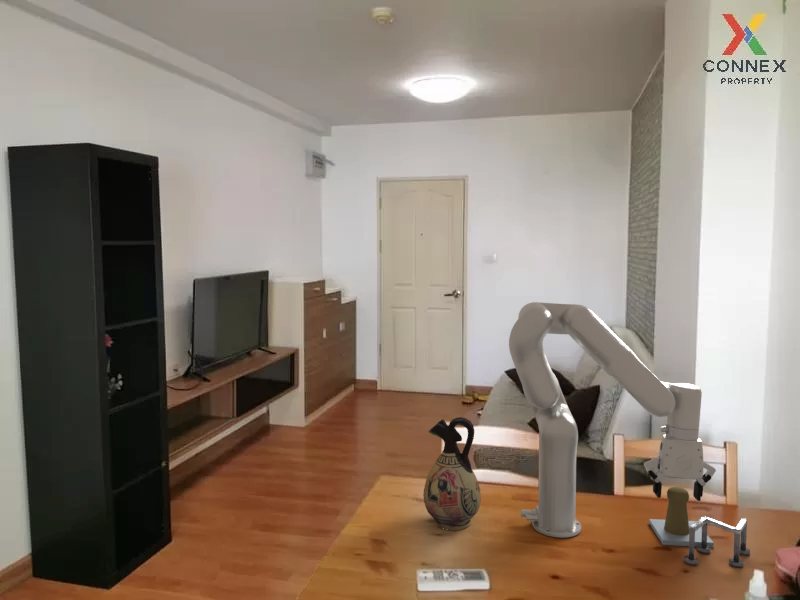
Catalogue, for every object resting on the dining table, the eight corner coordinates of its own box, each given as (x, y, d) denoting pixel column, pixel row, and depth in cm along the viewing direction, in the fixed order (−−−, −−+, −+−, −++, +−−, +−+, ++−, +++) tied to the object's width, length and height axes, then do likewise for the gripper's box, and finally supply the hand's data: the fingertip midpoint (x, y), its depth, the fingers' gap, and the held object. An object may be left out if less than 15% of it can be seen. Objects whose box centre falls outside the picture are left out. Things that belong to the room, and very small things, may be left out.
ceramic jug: (415, 531, 159) (414, 420, 156) (434, 508, 173) (433, 405, 170) (478, 542, 152) (478, 426, 150) (492, 517, 166) (492, 411, 164)
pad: (662, 544, 150) (663, 540, 150) (649, 523, 162) (649, 519, 162) (713, 547, 149) (713, 542, 149) (695, 525, 161) (696, 521, 161)
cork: (692, 536, 152) (693, 494, 151) (666, 534, 153) (667, 492, 152) (687, 526, 158) (688, 485, 157) (662, 523, 159) (663, 483, 158)
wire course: (686, 565, 141) (687, 529, 140) (674, 546, 149) (675, 512, 149) (764, 569, 138) (765, 532, 138) (746, 549, 147) (748, 515, 147)
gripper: (651, 434, 151) (646, 500, 152) (723, 439, 149) (718, 506, 150) (642, 425, 158) (638, 488, 159) (712, 430, 156) (706, 494, 157)
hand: (677, 497), depth 155 cm, fingers open, 9 cm apart
